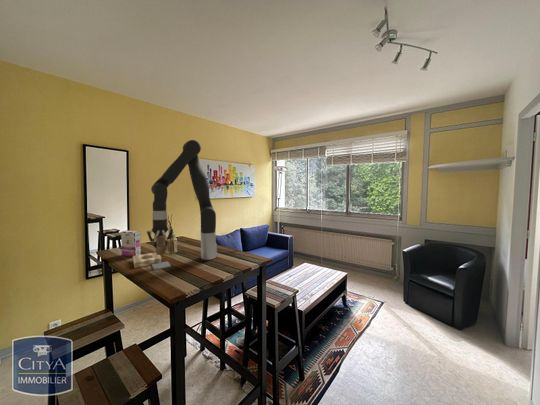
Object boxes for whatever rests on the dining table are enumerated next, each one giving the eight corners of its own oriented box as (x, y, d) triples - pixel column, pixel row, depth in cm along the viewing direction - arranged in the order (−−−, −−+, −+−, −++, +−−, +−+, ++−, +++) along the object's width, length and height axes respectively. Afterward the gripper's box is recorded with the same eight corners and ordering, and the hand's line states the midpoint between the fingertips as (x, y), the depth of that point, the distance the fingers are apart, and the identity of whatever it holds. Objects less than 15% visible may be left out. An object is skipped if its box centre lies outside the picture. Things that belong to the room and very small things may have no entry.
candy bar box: (141, 255, 149) (140, 231, 147) (135, 257, 144) (134, 232, 142) (127, 253, 151) (126, 229, 150) (121, 255, 147) (120, 231, 145)
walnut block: (164, 251, 133) (163, 233, 132) (165, 253, 129) (165, 235, 128) (155, 253, 130) (155, 234, 129) (157, 255, 127) (156, 236, 126)
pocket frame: (157, 256, 146) (157, 252, 146) (161, 263, 135) (161, 258, 135) (132, 260, 138) (132, 255, 138) (134, 267, 127) (134, 262, 127)
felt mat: (168, 262, 137) (168, 261, 137) (171, 266, 129) (171, 265, 129) (151, 265, 131) (151, 264, 131) (153, 270, 124) (153, 269, 124)
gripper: (171, 216, 135) (172, 243, 137) (144, 218, 127) (145, 247, 128) (174, 218, 129) (175, 247, 130) (146, 220, 121) (147, 250, 122)
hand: (160, 247), depth 129 cm, fingers closed on walnut block, 4 cm apart
